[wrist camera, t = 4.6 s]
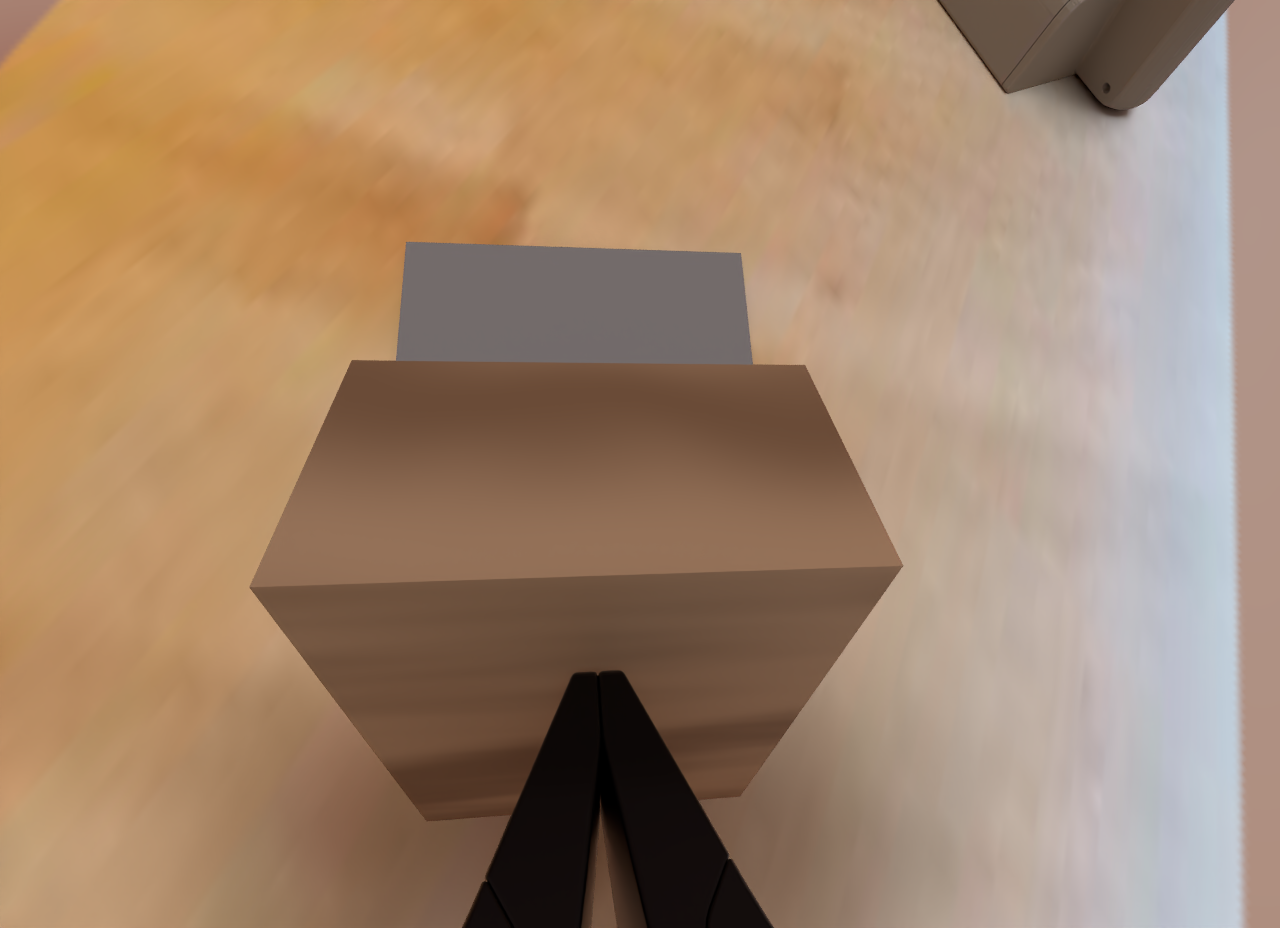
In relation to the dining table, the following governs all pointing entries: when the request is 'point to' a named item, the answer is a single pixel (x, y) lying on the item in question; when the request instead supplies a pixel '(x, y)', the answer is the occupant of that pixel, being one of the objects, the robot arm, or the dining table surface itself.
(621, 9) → the dining table surface
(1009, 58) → the digital clock
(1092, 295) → the dining table surface
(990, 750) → the dining table surface
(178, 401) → the dining table surface
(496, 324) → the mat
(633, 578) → the walnut block
